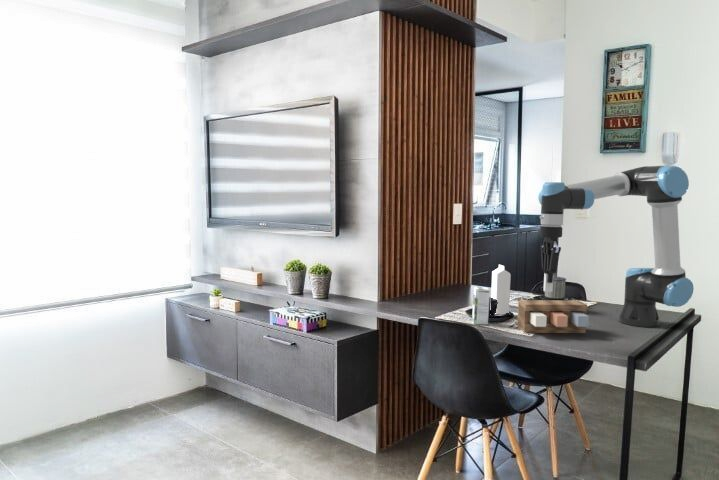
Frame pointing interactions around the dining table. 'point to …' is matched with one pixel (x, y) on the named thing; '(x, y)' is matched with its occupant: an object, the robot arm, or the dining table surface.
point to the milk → (501, 289)
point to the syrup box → (480, 305)
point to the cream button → (537, 318)
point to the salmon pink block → (558, 319)
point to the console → (545, 309)
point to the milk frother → (556, 289)
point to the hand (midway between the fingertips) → (547, 291)
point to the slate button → (579, 319)
